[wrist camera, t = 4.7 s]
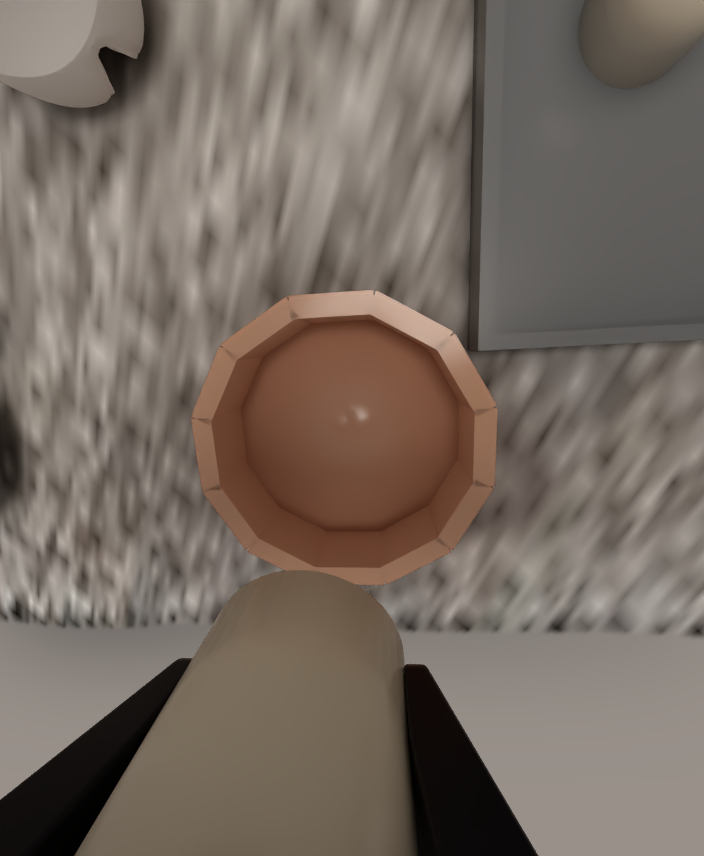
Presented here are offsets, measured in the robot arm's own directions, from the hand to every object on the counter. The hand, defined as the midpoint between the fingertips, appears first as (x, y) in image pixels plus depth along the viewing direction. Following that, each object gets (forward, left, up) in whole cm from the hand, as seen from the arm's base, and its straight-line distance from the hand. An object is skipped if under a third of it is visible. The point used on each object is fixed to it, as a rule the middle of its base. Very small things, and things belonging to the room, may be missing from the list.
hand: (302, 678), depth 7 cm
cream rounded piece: (0, 0, -1) cm, 1 cm away
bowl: (0, -2, -11) cm, 11 cm away
